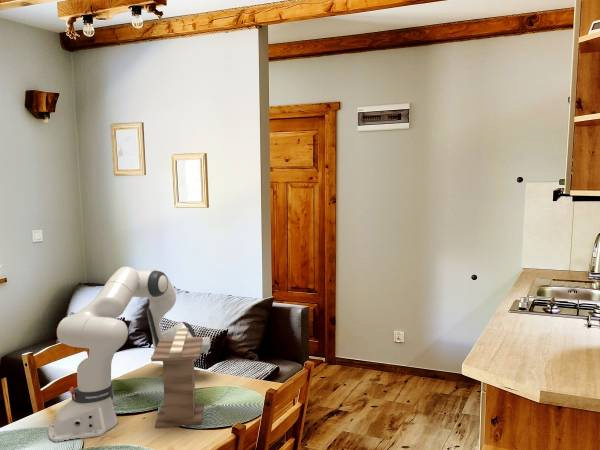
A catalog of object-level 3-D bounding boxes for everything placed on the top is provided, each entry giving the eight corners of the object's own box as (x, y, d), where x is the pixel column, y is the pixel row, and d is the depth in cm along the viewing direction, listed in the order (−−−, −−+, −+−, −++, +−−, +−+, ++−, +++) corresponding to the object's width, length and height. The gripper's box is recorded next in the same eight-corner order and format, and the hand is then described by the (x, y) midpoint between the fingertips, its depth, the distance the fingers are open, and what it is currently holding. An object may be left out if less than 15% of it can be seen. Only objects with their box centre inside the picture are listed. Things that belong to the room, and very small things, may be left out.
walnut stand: (162, 405, 198) (159, 339, 196) (204, 402, 200) (202, 337, 198) (153, 432, 176) (151, 358, 174) (201, 429, 178) (199, 355, 176)
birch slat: (178, 332, 204) (178, 328, 204) (188, 331, 205) (188, 327, 205) (169, 357, 175) (169, 352, 174) (181, 356, 175) (181, 352, 175)
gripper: (163, 340, 225) (159, 333, 213) (211, 338, 228) (209, 330, 216) (163, 355, 222) (159, 348, 210) (211, 352, 225) (209, 345, 213)
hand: (185, 339), depth 213 cm, fingers open, 8 cm apart
